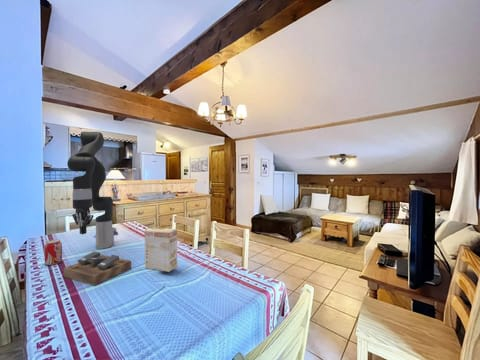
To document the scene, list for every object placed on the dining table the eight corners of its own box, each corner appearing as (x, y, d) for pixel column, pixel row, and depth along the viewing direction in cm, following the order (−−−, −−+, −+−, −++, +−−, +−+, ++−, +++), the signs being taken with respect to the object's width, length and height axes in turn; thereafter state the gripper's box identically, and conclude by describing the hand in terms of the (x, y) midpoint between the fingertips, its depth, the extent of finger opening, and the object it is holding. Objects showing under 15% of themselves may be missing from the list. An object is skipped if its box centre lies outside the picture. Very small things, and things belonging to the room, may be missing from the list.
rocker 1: (94, 254, 109) (94, 251, 108) (100, 255, 107) (99, 252, 107) (78, 263, 102) (77, 260, 101) (84, 264, 100) (83, 261, 100)
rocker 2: (103, 260, 106) (104, 256, 106) (109, 261, 104) (109, 257, 104) (86, 261, 99) (87, 257, 99) (93, 263, 97) (93, 259, 97)
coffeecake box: (178, 266, 108) (177, 228, 108) (169, 272, 101) (168, 232, 101) (154, 262, 113) (154, 226, 113) (144, 268, 106) (144, 229, 106)
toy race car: (92, 238, 159) (91, 230, 159) (114, 234, 170) (113, 226, 170) (95, 241, 153) (95, 232, 153) (118, 236, 164) (118, 228, 164)
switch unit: (102, 262, 114) (102, 253, 114) (131, 268, 106) (131, 258, 106) (63, 276, 98) (63, 266, 97) (94, 285, 89) (94, 274, 89)
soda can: (51, 266, 109) (51, 243, 109) (41, 265, 110) (40, 242, 110) (65, 261, 116) (65, 239, 115) (55, 260, 117) (54, 238, 117)
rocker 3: (113, 257, 103) (112, 254, 103) (119, 258, 102) (118, 255, 101) (97, 268, 96) (96, 265, 96) (104, 269, 95) (103, 266, 94)
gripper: (99, 197, 102) (99, 233, 102) (82, 197, 107) (82, 230, 107) (82, 199, 95) (83, 237, 95) (65, 198, 100) (66, 234, 100)
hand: (83, 233), depth 101 cm, fingers closed
